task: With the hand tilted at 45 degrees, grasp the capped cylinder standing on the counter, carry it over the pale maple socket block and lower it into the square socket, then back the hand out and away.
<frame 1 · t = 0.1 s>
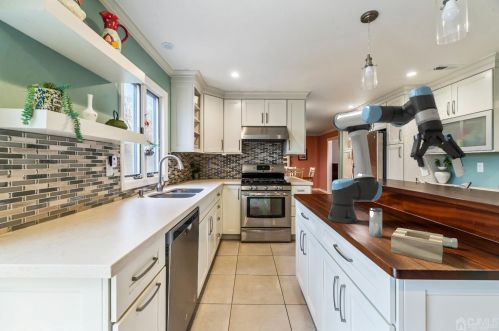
hand: (443, 176, 82), 28 cm above the counter, tool tilted 20°, fingers open, 13 cm apart
capped cylinder: (375, 235, 102), on the counter
socket block: (417, 251, 83), on the counter
pipe fitting: (443, 246, 90), on the counter
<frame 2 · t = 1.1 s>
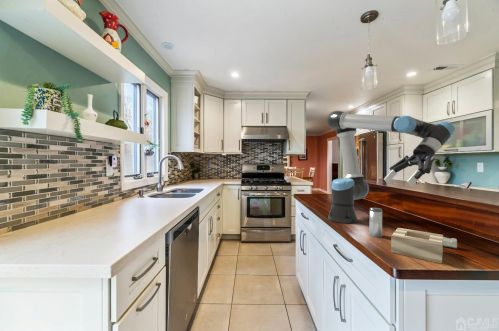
hand: (396, 182, 103), 24 cm above the counter, tool tilted 45°, fingers open, 13 cm apart
nothing on the counter moved.
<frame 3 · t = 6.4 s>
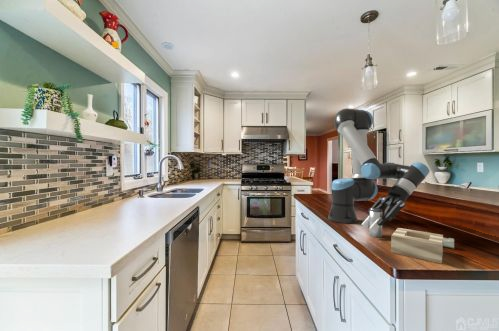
hand: (368, 228, 101), 3 cm above the counter, tool tilted 45°, fingers closed on capped cylinder, 5 cm apart
capped cylinder: (375, 235, 102), on the counter, touching gripper
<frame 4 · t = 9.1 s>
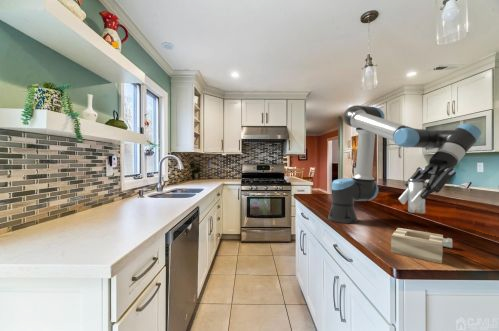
hand: (407, 202, 83), 18 cm above the counter, tool tilted 45°, fingers closed on capped cylinder, 5 cm apart
capped cylinder: (416, 212, 83), point 14 cm above the counter, touching gripper
when the fingers open (8 cm above the counter, at t = 12.3 s): capped cylinder drops 4 cm, resting on socket block.
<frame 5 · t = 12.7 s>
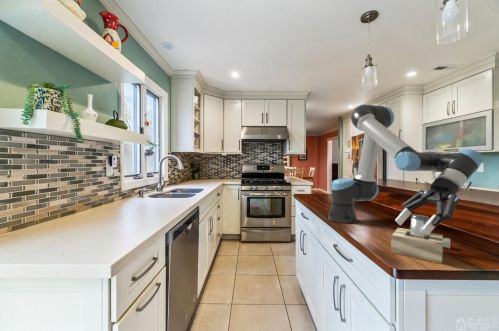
hand: (410, 226, 82), 9 cm above the counter, tool tilted 45°, fingers open, 11 cm apart
capped cylinder: (417, 248, 83), point 1 cm above the counter, touching socket block
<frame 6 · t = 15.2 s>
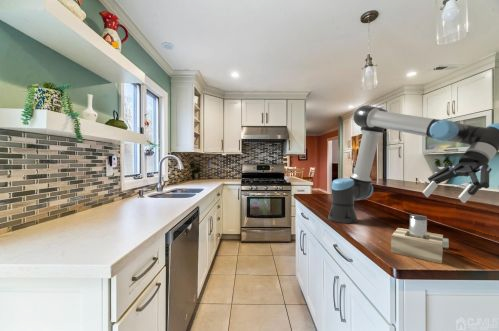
hand: (441, 197, 84), 20 cm above the counter, tool tilted 45°, fingers open, 13 cm apart
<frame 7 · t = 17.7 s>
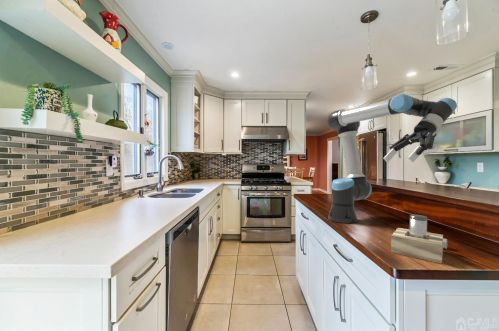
hand: (397, 160, 99), 34 cm above the counter, tool tilted 45°, fingers open, 13 cm apart
at the end: capped cylinder 0.1 cm off-centre on the socket block, point 1.1 cm above the socket block's base; capped cylinder tilted 2°; the gripper is holding nothing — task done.
